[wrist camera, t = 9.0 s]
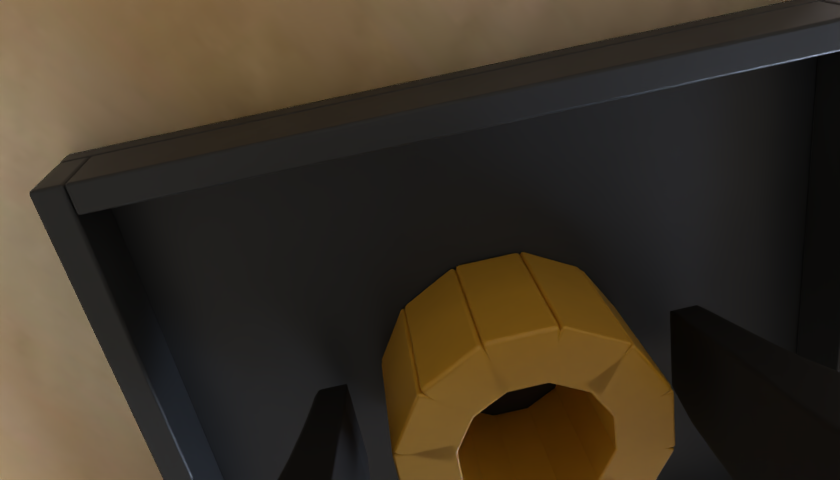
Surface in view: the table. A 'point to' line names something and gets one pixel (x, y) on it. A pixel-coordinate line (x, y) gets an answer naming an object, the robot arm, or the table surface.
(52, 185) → the tray
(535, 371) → the mustard ring
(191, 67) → the table surface
